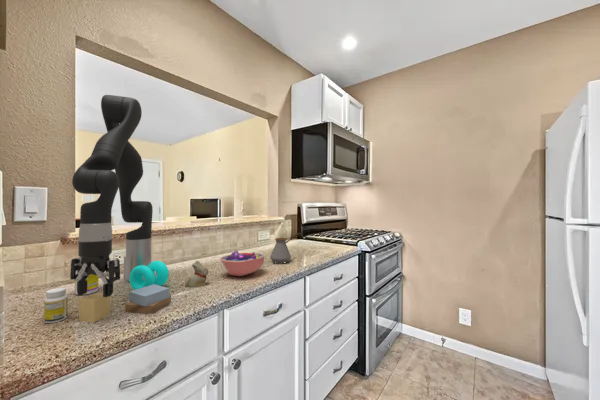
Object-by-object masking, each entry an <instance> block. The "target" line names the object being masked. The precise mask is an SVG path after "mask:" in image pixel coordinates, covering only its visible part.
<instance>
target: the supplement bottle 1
mask: <svg viewBox="0 0 600 400" xmlns="http://www.w3.org/2000/svg"><path fill="white" fill-rule="evenodd" d="M66 290H67V288H66V287H56V288H55V287H54V288H52V289H48V290H46V293H45V299H44V306H43V307H44V309H43V310H44V313H43V315H44V317H43V318H44V319H43V320H44V323H46V324H54V323H58V322H62V321H64V320H66V319H67V317H68V312H69V311H68V309H69V308H68V305H69V304H68V301H69V300H68V299H69V298H68V295H67V294H66V292H67V291H66Z"/></svg>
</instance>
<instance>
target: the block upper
mask: <svg viewBox="0 0 600 400" xmlns="http://www.w3.org/2000/svg"><path fill="white" fill-rule="evenodd" d="M170 295H171V294H170V287H166V286H163V285H162V286H159V285H155V284H153V285H150V286H146V287H143V288H140V289H136V290H134V289H132V290H131V291H129V292H128V297H129V298H128V302H133V303H136V304H139V305H142V306H148V305H151V304H153V303H156V302H159V301H161V300H164V299H167V298H169V297H170Z"/></svg>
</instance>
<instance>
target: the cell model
mask: <svg viewBox="0 0 600 400" xmlns="http://www.w3.org/2000/svg"><path fill="white" fill-rule="evenodd" d="M219 260H220V261H221V263H222V266H223V267H224V269H226V271H227V273H228V274H229V275H231V276H233V277H244V276H247V275H250V274H253V273H255V272H257V271H258V270H260V269H261V268H262V267H263V265H264V262H265V256H264V255H263V254H261V253H255V252H240V253H239V251H238V250H234V251H232V253H231V254H229V255H225V256H222V257H220V259H219Z"/></svg>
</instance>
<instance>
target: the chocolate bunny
mask: <svg viewBox="0 0 600 400" xmlns="http://www.w3.org/2000/svg"><path fill="white" fill-rule="evenodd" d="M191 267H192V268H193V270H194V273H193V274H192V275H190V276H189V277H188V279H187V281H186V282H185V285H184V286H185V287H188V288H198V287H204V286H206V285H205V284H207V282H206V281H207V279H208V277H207V276H208V274H209V269H208V268H207V267H206V266H204V265H203V264H202V263H201V262H200V261H199V260H195V262H194V263H192V265H191ZM203 285H204V286H203Z"/></svg>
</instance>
